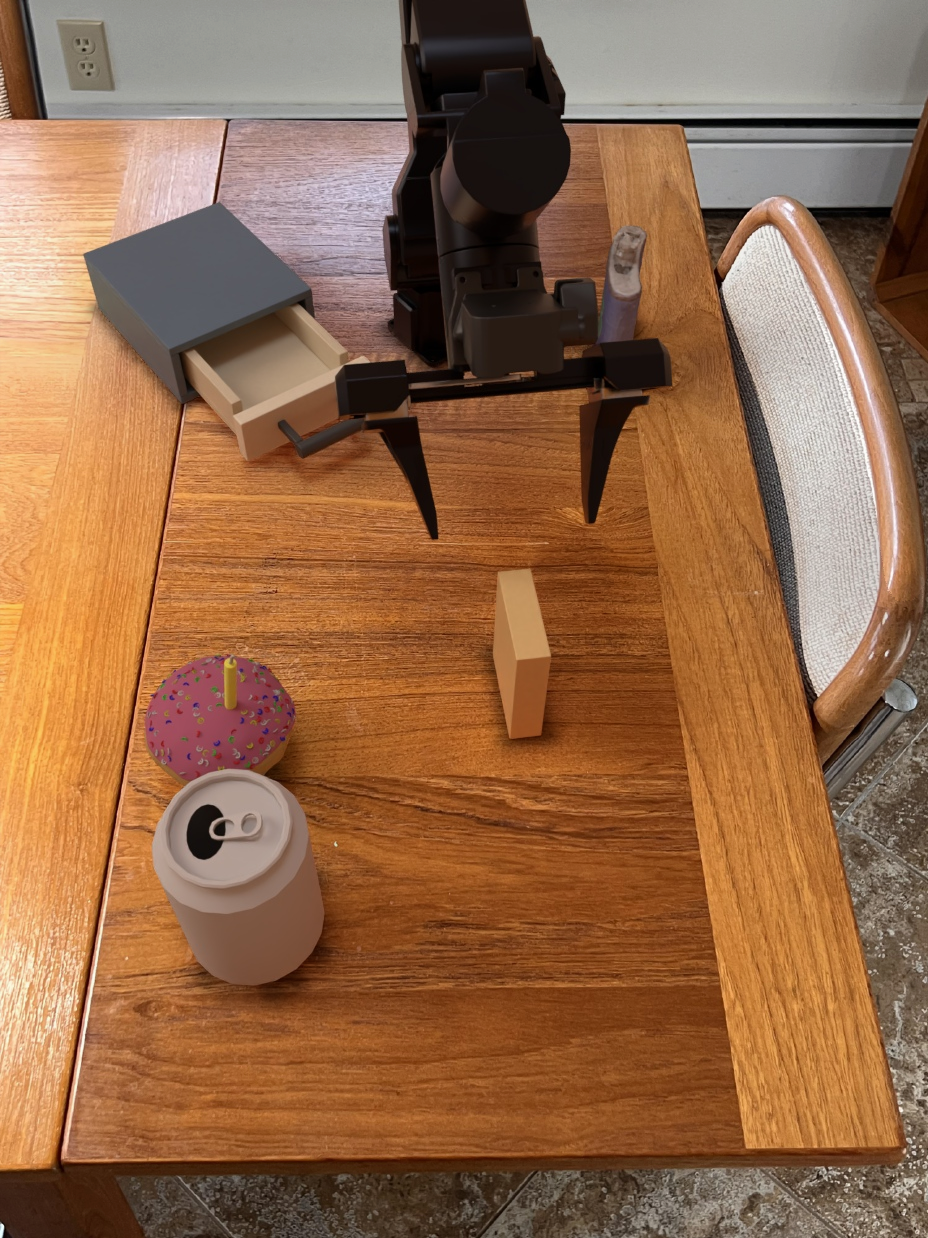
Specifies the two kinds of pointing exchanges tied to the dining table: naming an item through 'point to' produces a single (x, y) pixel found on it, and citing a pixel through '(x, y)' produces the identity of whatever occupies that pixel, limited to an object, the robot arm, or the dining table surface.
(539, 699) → the block
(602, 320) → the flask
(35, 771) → the dining table surface
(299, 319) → the drawer
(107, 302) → the cabinet
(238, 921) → the can
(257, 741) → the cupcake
